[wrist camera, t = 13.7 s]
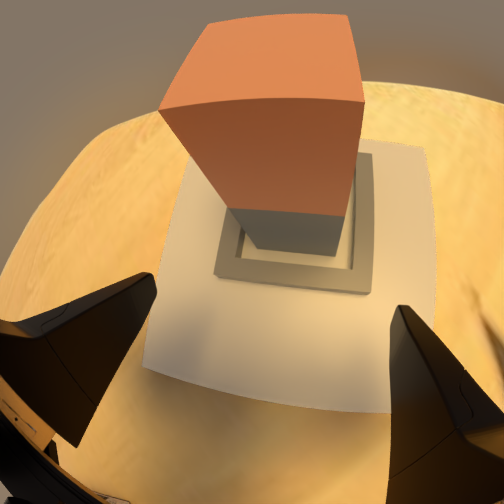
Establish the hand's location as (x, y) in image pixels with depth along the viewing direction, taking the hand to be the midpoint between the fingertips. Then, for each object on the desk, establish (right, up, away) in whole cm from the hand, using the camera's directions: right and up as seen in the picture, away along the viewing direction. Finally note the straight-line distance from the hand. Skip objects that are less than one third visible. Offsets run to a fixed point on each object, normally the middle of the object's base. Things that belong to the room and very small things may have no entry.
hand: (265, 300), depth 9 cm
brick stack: (+3, +4, +9) cm, 10 cm away
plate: (+3, +1, +9) cm, 9 cm away
